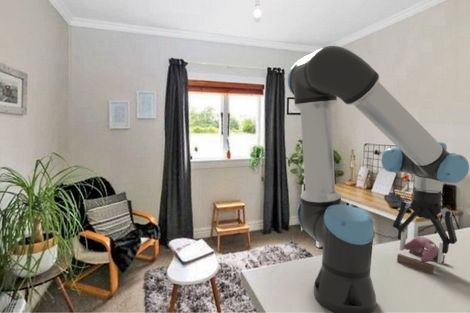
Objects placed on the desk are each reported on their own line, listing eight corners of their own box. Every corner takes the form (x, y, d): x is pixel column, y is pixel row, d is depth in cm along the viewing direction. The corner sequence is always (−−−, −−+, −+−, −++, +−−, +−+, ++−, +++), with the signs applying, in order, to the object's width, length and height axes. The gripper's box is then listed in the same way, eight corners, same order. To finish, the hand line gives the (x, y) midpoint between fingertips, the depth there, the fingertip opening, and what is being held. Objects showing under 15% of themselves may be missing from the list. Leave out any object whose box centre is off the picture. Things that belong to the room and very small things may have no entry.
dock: (432, 274, 86) (433, 266, 86) (397, 261, 94) (397, 254, 93) (444, 262, 94) (444, 255, 93) (410, 251, 101) (411, 244, 101)
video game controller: (433, 267, 89) (445, 248, 88) (421, 261, 88) (433, 242, 88) (413, 252, 99) (423, 235, 98) (402, 247, 98) (412, 230, 97)
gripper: (475, 195, 84) (466, 265, 87) (394, 182, 102) (388, 240, 104) (469, 199, 80) (460, 273, 82) (385, 184, 97) (379, 246, 100)
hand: (420, 255), depth 93 cm, fingers closed on video game controller, 10 cm apart
